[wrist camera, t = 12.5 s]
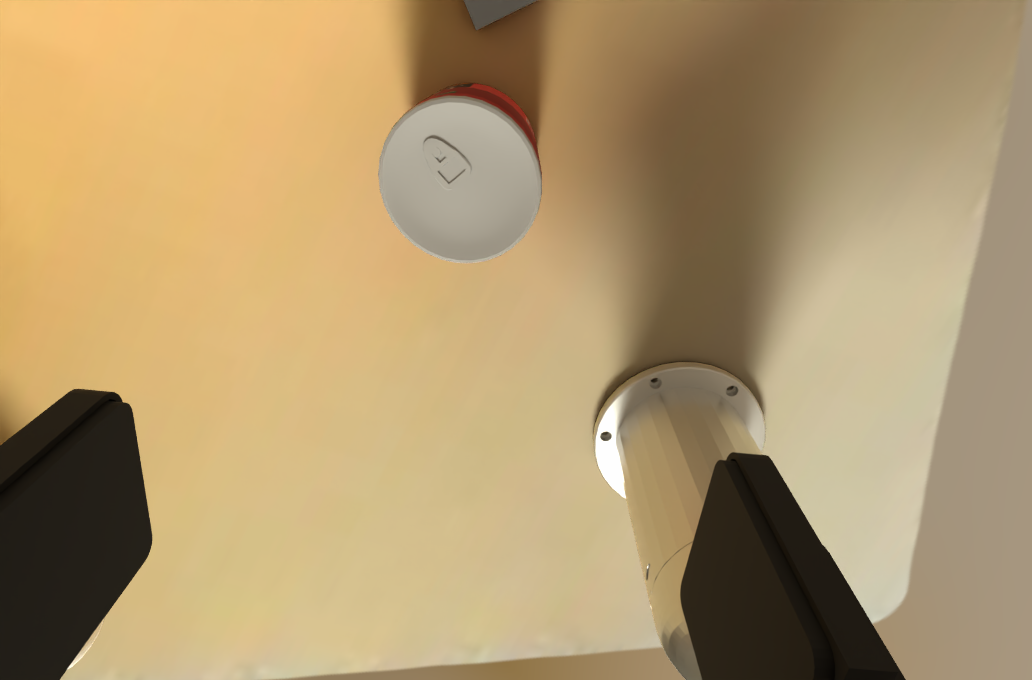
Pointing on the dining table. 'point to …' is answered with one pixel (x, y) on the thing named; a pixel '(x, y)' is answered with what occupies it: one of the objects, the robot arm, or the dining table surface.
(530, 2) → the board
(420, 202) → the canned food
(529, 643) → the dining table surface
